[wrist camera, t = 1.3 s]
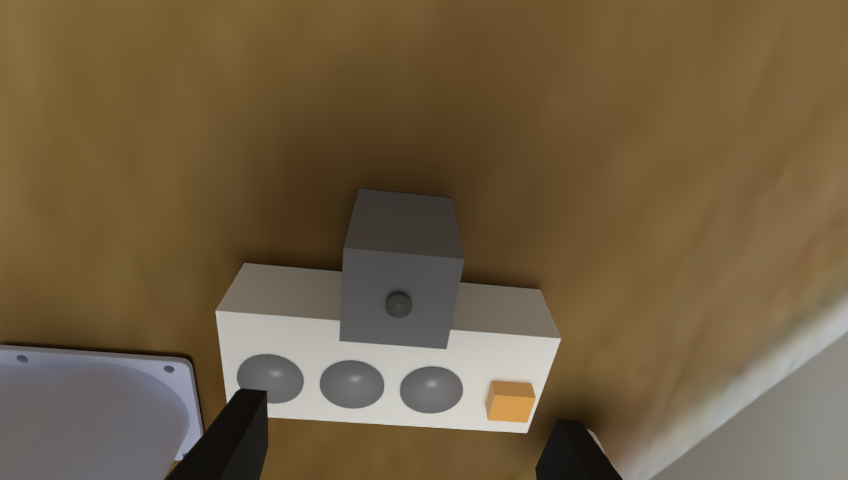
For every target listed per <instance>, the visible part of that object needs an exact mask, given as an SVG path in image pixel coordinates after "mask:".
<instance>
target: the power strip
mask: <svg viewBox="0 0 848 480" xmlns="http://www.w3.org/2000/svg"><path fill="white" fill-rule="evenodd" d="M341 290H342V272H340V271H329V270H318V269H307V268H296V267H284V266H273V265H262V264H251V263H244V264H243V266H242V268H241V269H240V271H239V273H238V274H237V276H236V278H235V279H234V281H233V283H232V284H231V286H230V287H229V289H228V291H227V292H226V294H225V296H224V297H223V299H222V301H221V302H220V304H219V306H218V307H217V309H216V319H217V327H218V335H219V343H220V351H221V359H222V367H223V375H224V383H225V391H226V398H227V403H228V402H229V401H230V399H231V398H232V396H233V395H234V394H235V392H236V391H237V390H239V389H240V388H245V389H255V390H265V391H267V408H268V417H274V418H290V419H307V420H323V421H339V422H355V423H371V424H387V425H404V426H420V427H436V428H452V429H468V430H485V431H501V432H517V433H527V432H528V429H529V426H530V424H531V421H532V418H533V415H534V412H535V410H536V407H537V404H538V401H539V399H540V396H541V393H542V390H543V387H544V385H545V382H546V379H547V376H548V374H549V371H550V368H551V365H552V363H553V360H554V357H555V354H556V351H557V349H558V346H559V343H560V340H561V337H560V335H559V333H558V330H557V328H556V326H555V323H554V321H553V319H552V316H551V314H550V312H549V309H548V307H547V305H546V302H545V300H544V298H543V295H542V293H541V291H540V289H529V288H518V287H507V286H496V285H484V284H473V283H462V282H460V285H459V290H458V295H457V300H456V305H455V310H454V315H453V320H452V325H451V330H450V335H449V340H448V345H447V349H435V348H422V347H409V346H396V345H383V344H370V343H357V342H344V341H339V335H340V313H341Z"/></svg>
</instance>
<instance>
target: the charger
mask: <svg viewBox="0 0 848 480" xmlns="http://www.w3.org/2000/svg"><path fill="white" fill-rule="evenodd" d="M464 260H465V259H464V254H463V249H462V244H461V239H460V234H459V229H458V224H457V219H456V214H455V209H454V204H453V199H452V198H447V197H438V196H428V195H419V194H410V193H400V192H391V191H381V190H372V189H363V188H359V190H358V193H357V197H356V201H355V205H354V209H353V213H352V217H351V220H350V224H349V228H348V232H347V236H346V240H345V244H344V248H343V268H342V290H341V313H340V335H339V341H344V342H357V343H370V344H383V345H396V346H409V347H422V348H435V349H447V345H448V340H449V335H450V330H451V325H452V320H453V315H454V310H455V305H456V300H457V295H458V290H459V285H460V280H461V275H462V270H463V265H464Z"/></svg>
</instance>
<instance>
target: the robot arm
mask: <svg viewBox="0 0 848 480" xmlns="http://www.w3.org/2000/svg"><path fill="white" fill-rule="evenodd" d="M170 366H172V367H170ZM267 449H268V408H267V391H265V390H255V389H245V388H240V389H239V390H237V391H236V392H235V394H234V395H233V396H232V398H231V399H230V401H229V402H228V403H227V405H226V406H225V407H224V409H223V410H222V411H221V413H220V414H219V415H218V416H217V418H216V419H215V420H214V421H213V423H212V424H211V425H210V427H209V428H208V429H207V430H206V431H205V433H204V432H203V426H202V420H201V414H200V409H199V403H198V397H197V391H196V385H195V379H194V374H193V368H192V364H191V362H190V361H189V360H187V359H185V358H178V357H164V356H150V355H136V354H122V353H108V352H94V351H80V350H66V349H52V348H39V347H25V346H11V345H0V480H259V479H260V475H261V472H262V468H263V464H264V460H265V456H266V453H267ZM174 460H181V461H180V462H179V463H178V464H177V466H176V467H175V468H174V469H173V470H172V471H171V473H170V474H169V475H168V476H167V477H166V475H167V473H168V471H169V469H170V467H171V465H172V463H173V461H174ZM535 470H536V478H537V480H623V479H622V478H621V476H620V475H619V474H618V472H617V471H616V469H615V468H614V467H613V465H612V464H611V462H610V461H609V460H608V458H607V457H606V455H605V454H604V453H603V451H602V450H601V448H600V447H599V445H598V444H597V443H596V441H595V440H594V438H593V437H592V436H591V434H590V433H589V431H588V430H587V429H586V427H585V426H584V424H583V423H582V422H581V421H574V420H564V419H558V420H557V422H556V424H555V426H554V429H553V431H552V433H551V435H550V437H549V440H548V442H547V444H546V446H545V448H544V450H543V453H542V455H541V457H540V459H539V461H538V464H537V466H536V468H535ZM165 477H166V478H165Z"/></svg>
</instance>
